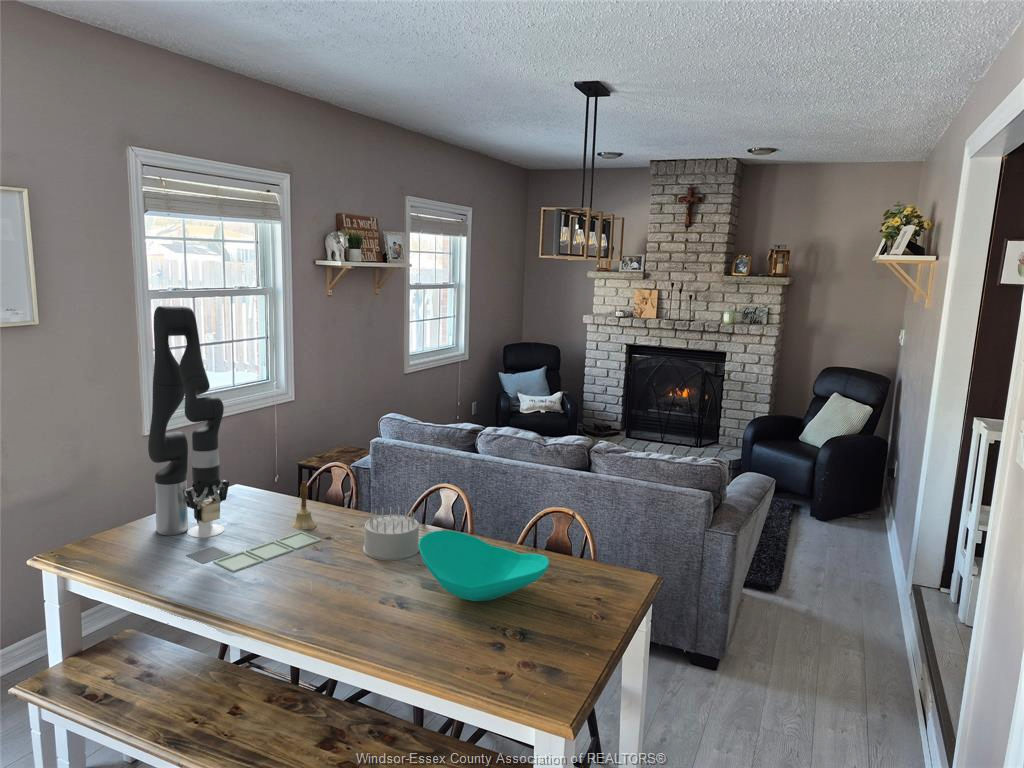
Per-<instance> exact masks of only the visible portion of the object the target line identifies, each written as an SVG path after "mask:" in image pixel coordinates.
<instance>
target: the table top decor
mask: <svg viewBox="0 0 1024 768" xmlns="http://www.w3.org/2000/svg"><path fill="white" fill-rule="evenodd" d="M418 544H419V545H418V546H419V549H420V550H419V552H420V555H421V559H422V561H423V563H424V565H425V566H426V568H427V570H428V571H429V573H430V574H431V575H432V576H433V577H434V578H435V579H436V581H437V582H438V583H439V584H440V585H441V587H442V588H443V589H444V590H445V591H446V592H448V593H450V594H451V595H454V596H455V597H457V598H460V599H463V600H466V601H473V602H485V601H486V602H487V601H492V600H496V599H498V598H501V597H504V596H506V595H509V594H512V593H514V592H517V591H519V590H520V589H523V588H525V587H527V586H528V585H531V584H532V583H534V582H536V581H537V580H539V579H541V577H543V576H544V575H545V573H546V572H547V570H548V568H549V566H550V560H549V558H548V557H547V556H545V555H543V554H538V553H520V552H517V551H513V550H511V549H508V548H503V547H499V546H496V545H495V546H494V545H491V543H488V542H486V541H483V540H482V539H480V538H478V537H475V536H473V535H470V534H468V533H464V532H460V531H454V530H447V529H443V530H435V531H432V532H428V533H426V534H425V535H423V536H422V537H421V538H419V541H418Z"/></svg>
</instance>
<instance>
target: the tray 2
mask: <svg viewBox="0 0 1024 768" xmlns="http://www.w3.org/2000/svg"><path fill="white" fill-rule="evenodd" d="M293 551H294V549H293V548H291V547H288V546H286V545H283V544H281V543H279V542H276V540H272V541H268V542H266V543H263V544H260V545H257V546H253V547H251V548H248V549H245V552H247V553H249V554H251V555H253V556H256V557H258V558H260V559H262V560H263V561H268V560H272V559H274V558H277V557H279V556H284V555H286V554H288V553H291V552H293Z"/></svg>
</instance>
